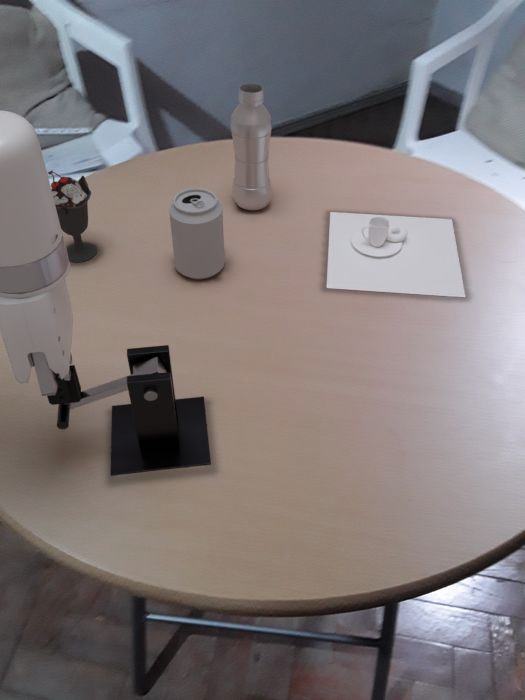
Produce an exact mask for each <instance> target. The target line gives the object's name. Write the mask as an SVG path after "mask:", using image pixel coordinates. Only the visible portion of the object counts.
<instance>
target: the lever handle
mask: <svg viewBox="0 0 525 700" xmlns="http://www.w3.org/2000/svg"><path fill="white" fill-rule="evenodd" d="M165 372H167V371H166V369H165V368H164V366H163V365H162V363H161V362H160V360H159V359H158V357H155V358H152V359H149V360H146V361H143V362H141V363H138V364H135V365H133V374H129V375H125V376H123V377H120V378H117V379H114V380H111V381H108V382H106V383H102V384H99V385H96V386H94V387H90V388H88V389H85V390H81V394H80V395H81V399H80V402H76V403H66V404H58V409H57V416H56V417H57V418H56V427H57V428H58V429H59V430H67V429H68V428H69V425H70V415H71V414H70V413H71V410H74V409H76V408H79V407H82V406H85V405H88V404H91V403H94V402H97V401H101V400H103V399H105V398H108V397H112V396H114V395H118V394H121V393H124V392H126V391H127V392H128V386H127V376H134V375H144V374H155V373H165Z"/></svg>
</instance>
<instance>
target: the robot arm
mask: <svg viewBox="0 0 525 700" xmlns="http://www.w3.org/2000/svg"><path fill="white" fill-rule="evenodd" d="M38 136H39V135H38V133H37V132H36V129H35V128H34V126H33V125H32V123H30V122H29V120H28V119H26V118H24V116H22V115H19V114H17V113H15V112H13V111H7V110H0V333H1V338H2V342H3V344H4V347H5V350H6V355H7V358H8V361H9V364H10V368H11V371H12V373H13V376H14V379H15V380H16V382H17V383H19V384H28V383H29V382H30V377H31V373H32V368H33V367H34V369H35V373H36V377H37V383H38V386H39V390H40V394H41V396H42V397H47V400H48V403H49V404H50V405H53V406H56V405H59V404H66V403H76V402H80V399H81V395H80V394H81V392H82V387H81V386H82V385H81V383H80V380H79V376H78V372H77V369H76V365H75V364H73V355H72V343H73V331H74V330H73V329H74V313H73V306H72V305H73V304H72V301H71V297H70V293H69V289H68V285H67V282H66V278H67V277H68V275H69V273H70V271H71V270H70V269H71V263H70V262H71V261H70V260H69V258H68V254H67V250H66V249H67V246H66V242H65V238H64V236H63V235H64V234H63V231H62V229H61V227H60V223H59V219H58V215H57V210H56V206H55V202H54V198H53V194H52V190H51V188H52V187H51V182H50V178H49V174H48V170H47V167H46V163H45V158H44V155H43V151H42V147H41V143H40V140H39V137H38Z"/></svg>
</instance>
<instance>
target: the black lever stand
mask: <svg viewBox="0 0 525 700" xmlns="http://www.w3.org/2000/svg"><path fill="white" fill-rule="evenodd" d="M126 357H127V363H128V368H129V373H130V374H129V375H131V374H133V365H135V364H138V363H141V362H143V361H146V360H149V359H152V358H155V357H158V359H159V360H160V362H161V363H162V365H163V366H164V368H165V369H166V371H167V372H165V373H155V374H144V375H134V376H129V375H126V376H127V386H128V390H127V392H128V396H129V402H130V403H125V404H116V405H111V430H110V431H111V433H110V434H111V435H110V436H111V437H110V476H120V475H130V474H138V473H139V474H140V473H146V472H147V473H149V472H156V471H165V470H175V469H183V468H185V469H186V468H192V467H202V466H210V465H212V462H211V453H210V442H209V433H208V423H207V416H206V415H207V413H206V405H205V404H206V403H205V396H195V397H186V398H176V392H175V384H174V377H173V375H174V374H173V369H172V361H171V360H172V359H171V352H170V346H169V344H164V345H154V346H153V345H151V346H142V347H131V348H127V349H126Z"/></svg>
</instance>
